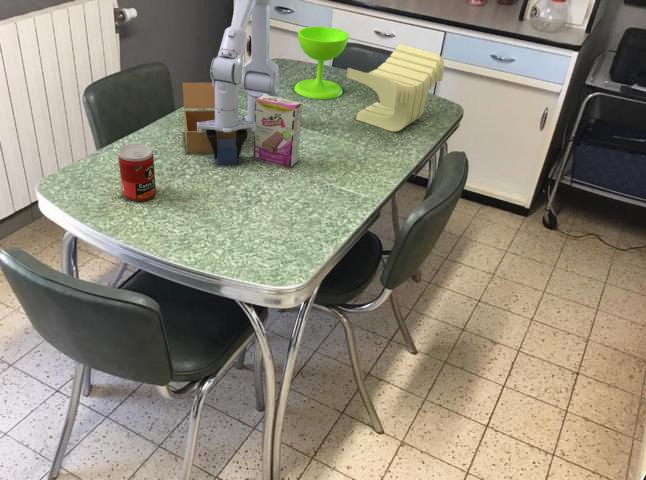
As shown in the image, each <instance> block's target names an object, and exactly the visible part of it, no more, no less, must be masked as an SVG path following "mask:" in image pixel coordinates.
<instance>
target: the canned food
mask: <svg viewBox="0 0 646 480" xmlns="http://www.w3.org/2000/svg"><path fill="white" fill-rule="evenodd" d="M117 155H118V164H119V174H120V182H121V191H122V194H123V196H124V198H126V199H128V200H130V201H135V202H143V201H147V200H150V199H152V198H153V197H154V196H155V194H156V191H157V190H156V173H155V161H154V160H155V159H154V152H153V149H152V147H151V146H149V145H147V144H144V143H129V144H125V145H123V146H121V147H119V149H118V151H117Z"/></svg>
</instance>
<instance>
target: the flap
mask: <svg viewBox="0 0 646 480" xmlns="http://www.w3.org/2000/svg"><path fill="white" fill-rule="evenodd" d="M182 96H183V97H182V98H183V109H215V88H213V86H212V82H182Z"/></svg>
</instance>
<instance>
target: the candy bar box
mask: <svg viewBox="0 0 646 480" xmlns="http://www.w3.org/2000/svg"><path fill="white" fill-rule="evenodd" d="M302 115H303V102H300V101H297V100H296V101H295V100H293V99H287V98H283V97H281V96H280V97H276V96H271V95H267V94H262V95H261V96H259V97H258V98H257V99H256V100H255V124H256V127H255V131H253V132H254V133H253V159H258V160H261V161H266V162H269V163H274V164H277V165H281V166H284V167H289V168H291V167H292V166H294V165H295V164H297V163H298V162H299V153H300V138H301V127H302Z"/></svg>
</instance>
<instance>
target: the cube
mask: <svg viewBox="0 0 646 480" xmlns="http://www.w3.org/2000/svg"><path fill="white" fill-rule="evenodd" d="M216 163H217V166H233V165H235V166H236V165H238V158H237V144H236V140H235V139H217V159H216Z"/></svg>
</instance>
